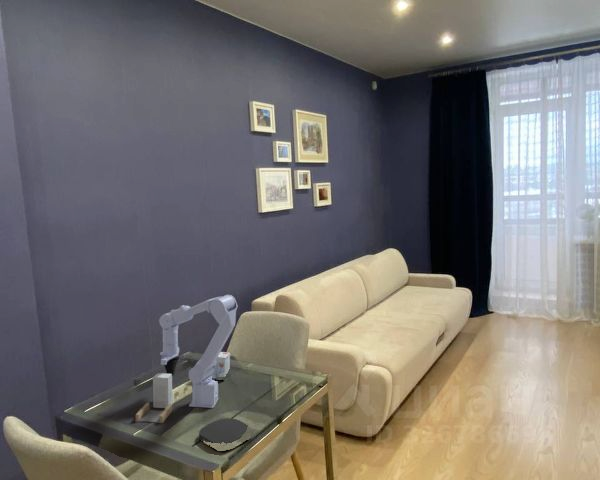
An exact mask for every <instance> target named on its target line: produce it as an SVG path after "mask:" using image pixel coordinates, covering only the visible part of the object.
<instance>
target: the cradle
mask: <svg viewBox="0 0 600 480" xmlns="http://www.w3.org/2000/svg"><path fill="white" fill-rule="evenodd" d="M172 412H173V403H172V404H169V405H168V406H167V407H166V408H164V410H156V409H155V410H154V409H150V402H146V403H144V405H143V406H142V407H141V408H140V409H139V410H138V411H137V413H136V414H135V422H139V423H153V424H154V423H157V424H163V423H164V422H165V421H166V420H167V418H168V417H169V416H170V415H171V413H172Z"/></svg>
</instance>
